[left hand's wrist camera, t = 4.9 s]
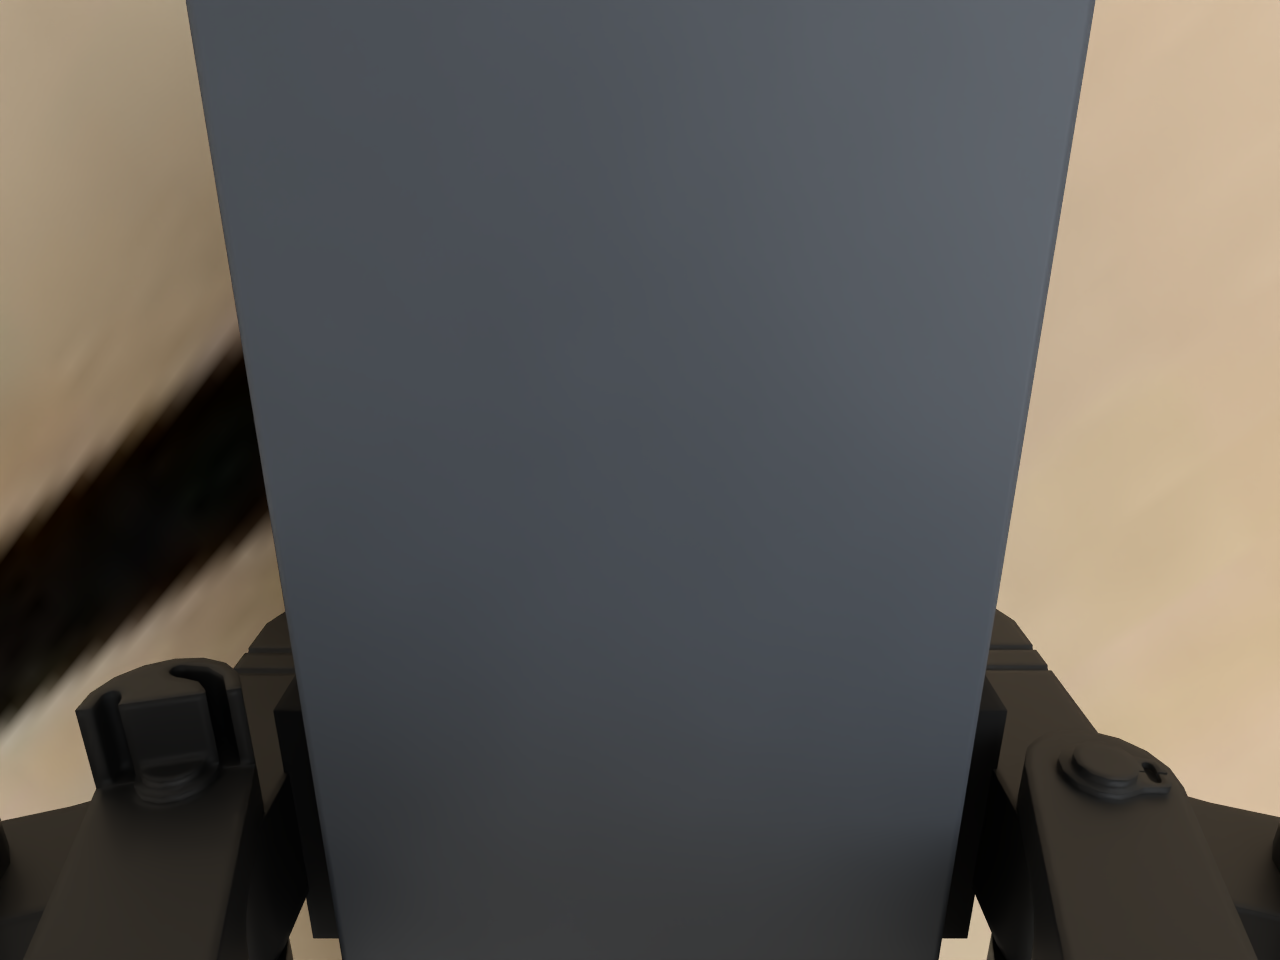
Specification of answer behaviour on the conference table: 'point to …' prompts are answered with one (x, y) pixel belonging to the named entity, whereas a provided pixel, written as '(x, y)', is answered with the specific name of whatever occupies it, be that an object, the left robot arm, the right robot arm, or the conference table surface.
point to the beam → (640, 446)
